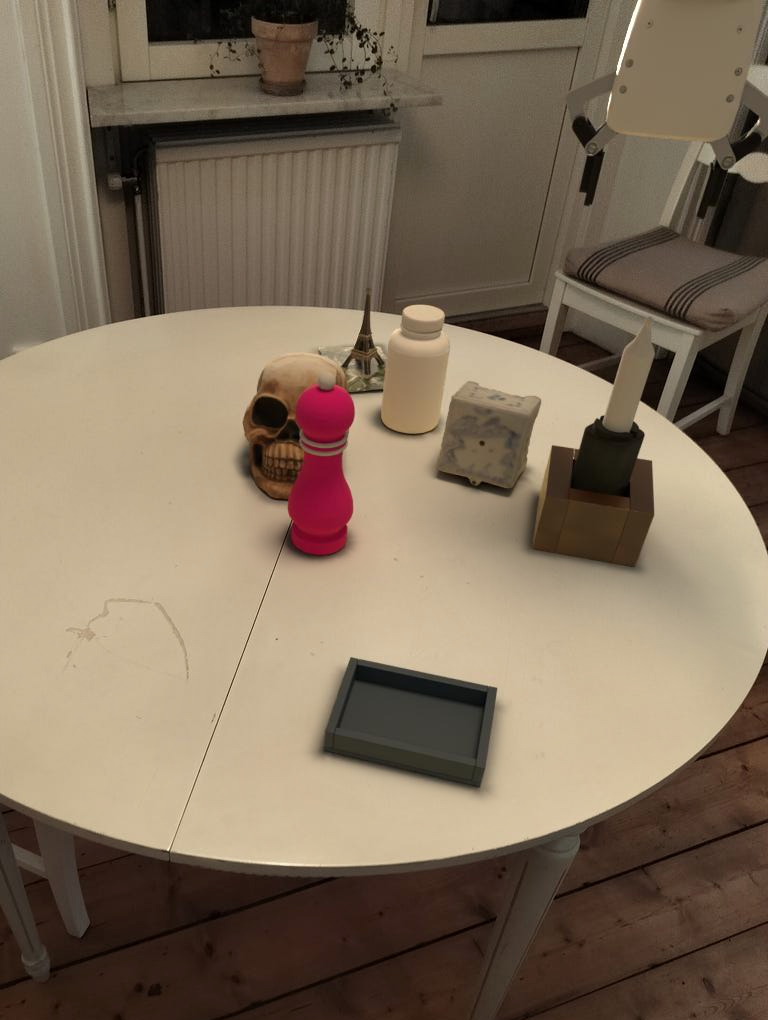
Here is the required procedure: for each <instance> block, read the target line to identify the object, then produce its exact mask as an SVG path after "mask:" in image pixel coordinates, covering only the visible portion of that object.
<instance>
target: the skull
mask: <svg viewBox="0 0 768 1020" xmlns="http://www.w3.org/2000/svg"><path fill="white" fill-rule="evenodd" d="M323 372H330V373H332V374H333V375H334V377H335V380H336V382H335V385H338V386H340V387H342V388H343V389H345V390H346V391H347V392H348V393H349V394H350V392H349V387H348V382H347V379H346V376H345V374H344V372H343V370H342V369H341V367H340V366H339V365H338V364H337V363H335V362H334V361H333V360H331V359H329V358H327V357H325V356H322V355H321V354H317V353H311V352H303V351H298V352H297V351H296V352H288V353H284V354H280V355H277V356H276V357H274V358H273V359H271V360H270V361H269V362H268V363H266V365H265V366H264V368H263V369H262V370H261V372H260V375H259V377H258V379H257V385H256V394H255V395H254V396H253V398H252V399H251V400H250V402H249V403H248V405H247V407H246V409H245V412H244V415H243V418H242V427H243V432H244V434H243V435H244V437H245V440H246V441H247V442H248V443H249V444H250V445H249V466H250V470H251V473H252V476H253V479H254V483H255V484H256V485H257V487H259V488H260V489H262V491H264V492H266V494H267V495H268V496H270V497H271V498H274V499H281V500H289V495H290V492H291V490H292V487H293V485H294V483H295V481H296V479H297V478H298V476H299V473H300V471H301V469H302V465H303V459H304V450H303V449H302V447H301V446H300V442H299V441H300V430H301V429H302V428H301V427H300V426H299V424H298V422H297V420H296V414H295V410H296V404H297V401H298V399H299V396H300V395H301V394H302V393H303V391H305V390H306V389H307V388H309V387H311V386H312V385H316V384H318V377H319V375H321V374H322V373H323ZM347 432H348V435H349V434H350V428H349V429H348V430H347Z"/></svg>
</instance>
